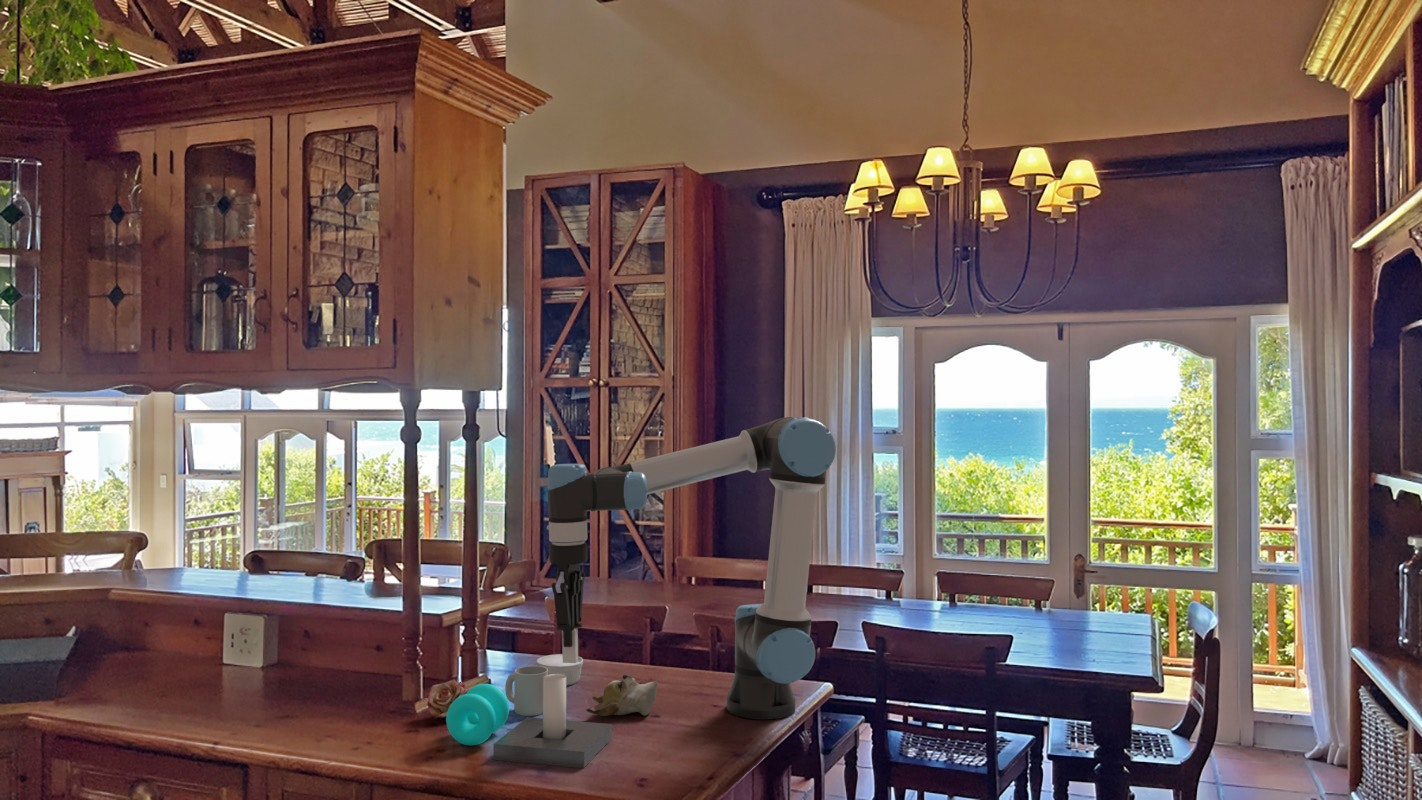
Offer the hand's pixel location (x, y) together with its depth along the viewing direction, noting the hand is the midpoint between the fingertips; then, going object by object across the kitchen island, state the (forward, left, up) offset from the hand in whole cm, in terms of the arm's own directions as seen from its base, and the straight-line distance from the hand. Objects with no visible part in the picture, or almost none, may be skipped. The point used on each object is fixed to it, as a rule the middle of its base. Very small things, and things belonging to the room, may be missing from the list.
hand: (570, 661), depth 191 cm
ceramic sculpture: (-4, -21, -17) cm, 27 cm away
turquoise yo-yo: (+19, +1, -16) cm, 25 cm away
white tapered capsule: (+2, +3, -16) cm, 17 cm away
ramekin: (+18, -41, -17) cm, 47 cm away
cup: (+17, -18, -16) cm, 29 cm away
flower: (+31, -9, -16) cm, 36 cm away
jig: (+2, +3, -16) cm, 17 cm away
